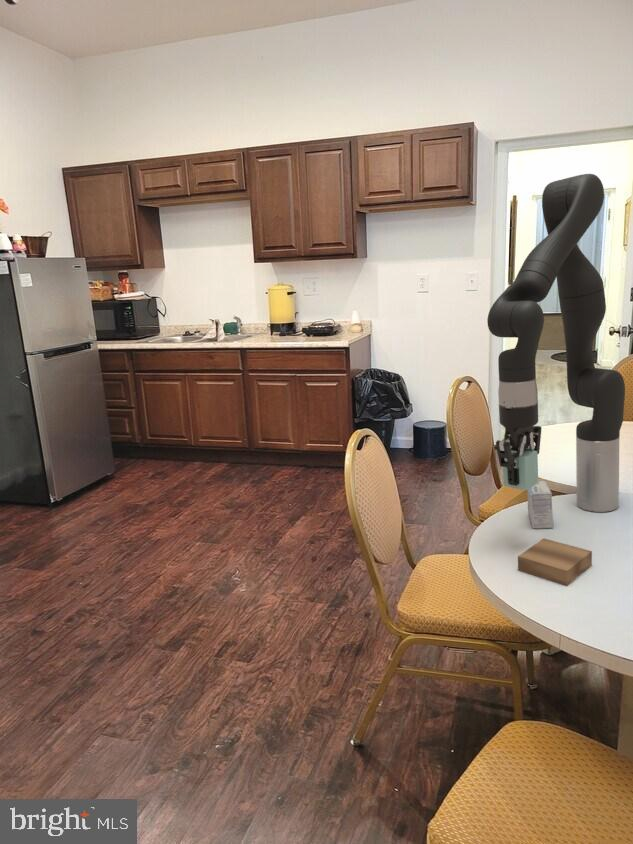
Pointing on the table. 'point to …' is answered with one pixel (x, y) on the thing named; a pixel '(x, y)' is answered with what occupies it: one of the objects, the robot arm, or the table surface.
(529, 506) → the medicine box
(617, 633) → the table surface
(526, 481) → the teal block
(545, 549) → the walnut base
